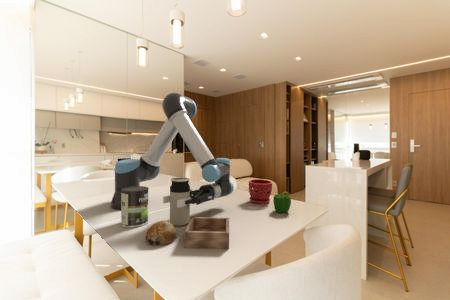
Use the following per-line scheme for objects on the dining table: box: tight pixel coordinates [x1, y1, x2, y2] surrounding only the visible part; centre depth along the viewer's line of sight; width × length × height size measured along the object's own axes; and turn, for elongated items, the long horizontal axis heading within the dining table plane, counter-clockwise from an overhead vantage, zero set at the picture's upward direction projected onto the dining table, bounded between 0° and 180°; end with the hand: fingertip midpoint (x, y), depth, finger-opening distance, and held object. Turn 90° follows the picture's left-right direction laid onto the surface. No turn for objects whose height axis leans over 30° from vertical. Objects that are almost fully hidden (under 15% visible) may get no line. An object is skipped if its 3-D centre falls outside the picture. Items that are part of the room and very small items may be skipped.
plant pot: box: [248, 178, 273, 205], centre depth 125 cm, size 13×13×12 cm
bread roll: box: [145, 220, 177, 247], centre depth 75 cm, size 10×10×8 cm
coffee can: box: [120, 185, 149, 229], centre depth 89 cm, size 10×10×14 cm
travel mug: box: [169, 177, 191, 227], centre depth 90 cm, size 8×8×18 cm
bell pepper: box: [272, 191, 292, 214], centre depth 107 cm, size 8×8×10 cm
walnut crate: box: [183, 216, 230, 250], centre depth 76 cm, size 14×14×5 cm
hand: (170, 201), depth 86 cm, fingers closed on travel mug, 8 cm apart
